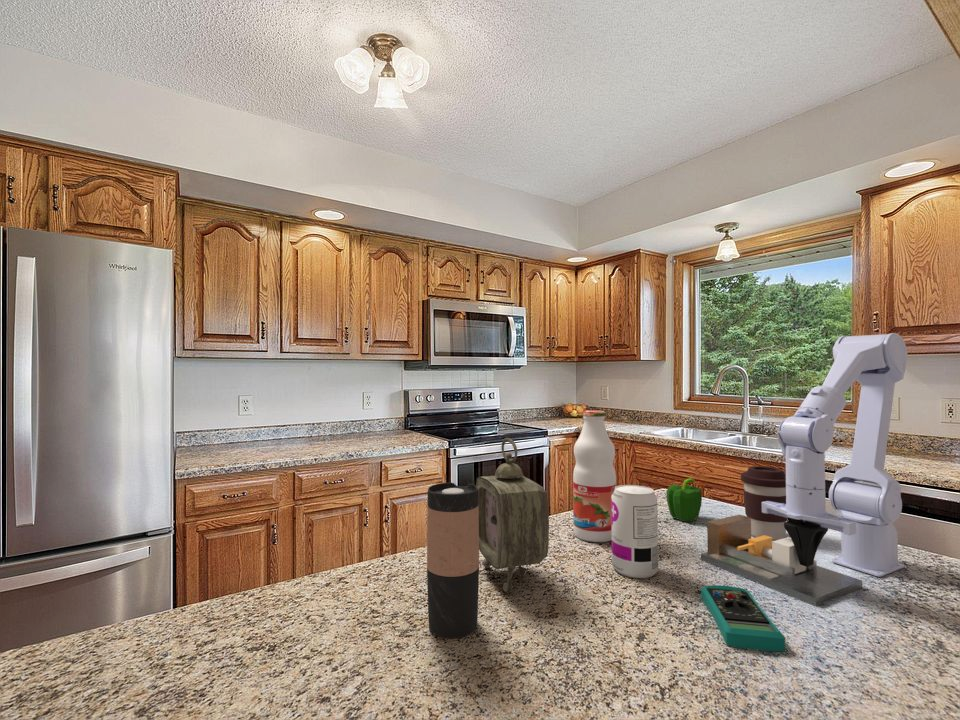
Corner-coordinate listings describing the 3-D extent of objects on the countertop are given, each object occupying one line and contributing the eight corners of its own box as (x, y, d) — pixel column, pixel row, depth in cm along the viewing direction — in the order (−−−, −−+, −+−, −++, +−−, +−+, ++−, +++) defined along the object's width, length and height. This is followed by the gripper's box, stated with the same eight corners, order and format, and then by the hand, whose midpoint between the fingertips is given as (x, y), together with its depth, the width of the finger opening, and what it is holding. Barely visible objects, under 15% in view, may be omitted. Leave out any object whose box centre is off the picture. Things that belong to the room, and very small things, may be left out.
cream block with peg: (806, 570, 87) (805, 542, 87) (789, 575, 85) (789, 546, 85) (772, 558, 92) (772, 532, 92) (756, 563, 90) (755, 536, 90)
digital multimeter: (747, 603, 79) (747, 585, 79) (787, 656, 64) (786, 634, 64) (699, 599, 80) (699, 581, 80) (727, 651, 66) (726, 628, 66)
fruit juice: (625, 537, 108) (624, 411, 109) (597, 546, 103) (596, 413, 103) (592, 526, 116) (591, 408, 116) (564, 534, 110) (564, 410, 111)
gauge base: (862, 587, 83) (861, 545, 83) (816, 606, 77) (815, 560, 77) (746, 547, 102) (745, 513, 102) (700, 560, 95) (700, 523, 96)
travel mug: (439, 645, 66) (439, 497, 66) (419, 619, 73) (419, 485, 73) (488, 631, 70) (488, 490, 70) (465, 608, 76) (465, 480, 77)
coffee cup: (803, 543, 104) (802, 473, 104) (756, 543, 104) (755, 473, 105) (775, 528, 114) (774, 464, 114) (733, 528, 114) (732, 464, 114)
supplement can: (609, 575, 88) (608, 492, 89) (614, 559, 96) (614, 482, 96) (657, 582, 85) (656, 496, 86) (658, 565, 93) (658, 486, 93)
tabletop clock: (475, 565, 93) (475, 434, 93) (518, 559, 96) (518, 432, 96) (501, 599, 79) (501, 445, 80) (552, 591, 82) (551, 442, 83)
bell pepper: (670, 523, 118) (670, 482, 118) (663, 513, 126) (663, 474, 126) (707, 525, 117) (707, 483, 117) (697, 515, 125) (697, 475, 125)
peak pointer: (772, 558, 92) (772, 537, 92) (742, 567, 88) (742, 545, 88) (764, 556, 94) (764, 535, 94) (734, 564, 90) (734, 542, 90)
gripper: (750, 480, 90) (751, 554, 89) (839, 498, 77) (840, 585, 76) (774, 476, 93) (775, 547, 93) (862, 493, 80) (863, 576, 80)
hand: (806, 564), depth 85 cm, fingers closed
